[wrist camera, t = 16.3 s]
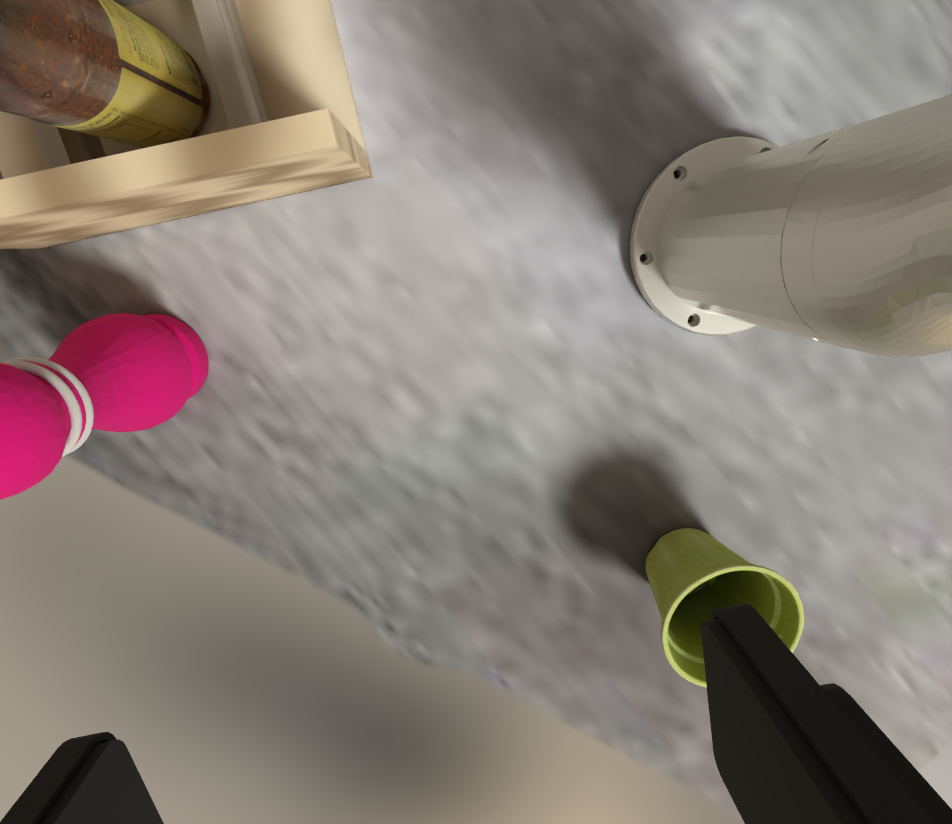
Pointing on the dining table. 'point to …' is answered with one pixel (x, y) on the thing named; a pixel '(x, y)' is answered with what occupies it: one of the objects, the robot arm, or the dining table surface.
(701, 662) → the plant pot
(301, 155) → the condiment rack
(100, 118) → the sauce bottle
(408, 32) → the dining table surface
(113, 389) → the pepper mill
